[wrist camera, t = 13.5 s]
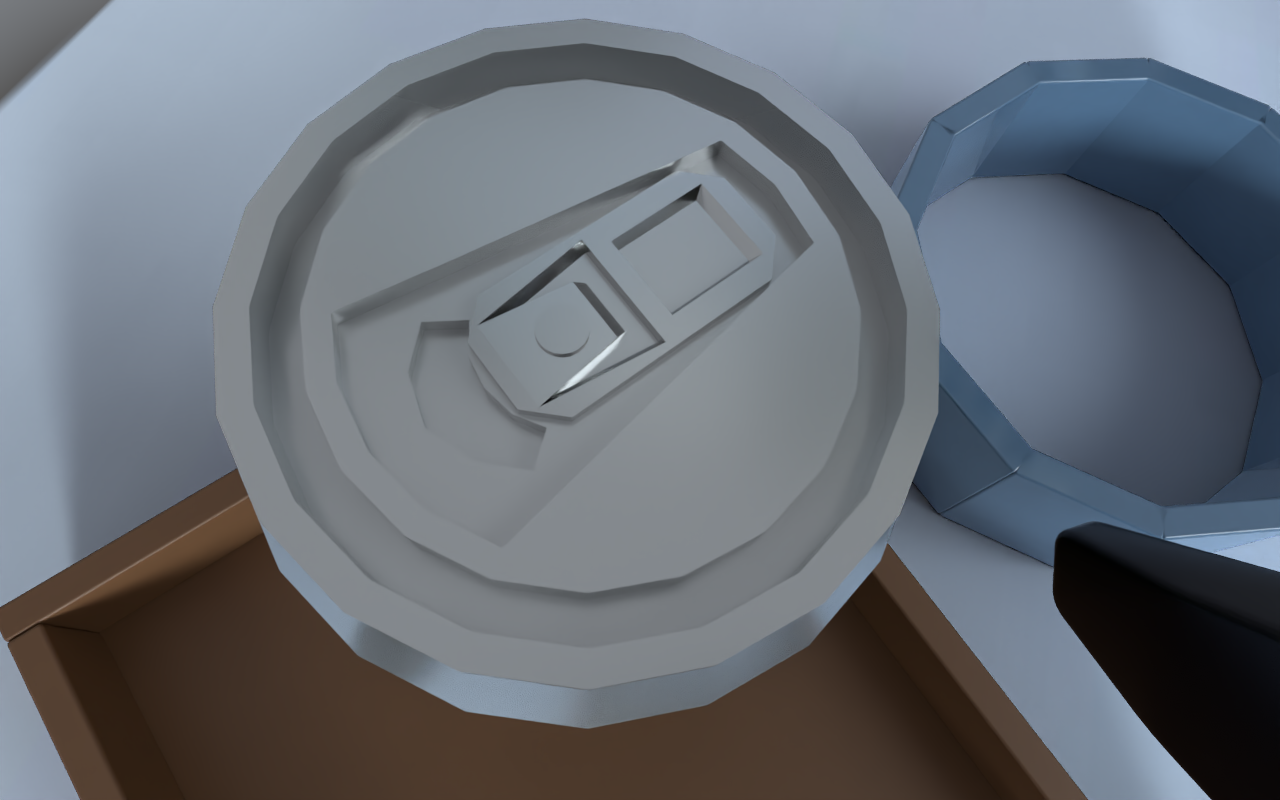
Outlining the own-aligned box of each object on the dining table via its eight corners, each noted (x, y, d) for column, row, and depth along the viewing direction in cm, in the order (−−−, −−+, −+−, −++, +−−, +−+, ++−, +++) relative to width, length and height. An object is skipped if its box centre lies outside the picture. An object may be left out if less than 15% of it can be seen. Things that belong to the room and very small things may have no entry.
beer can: (610, 392, 19) (656, -104, 7) (774, 600, 17) (1137, 388, 6) (390, 545, 17) (26, 225, 6) (550, 781, 16) (478, 949, 5)
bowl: (1370, 400, 20) (1522, 340, 17) (1059, 665, 18) (1167, 654, 15) (1064, 92, 23) (1146, -13, 19) (754, 287, 20) (788, 204, 17)
